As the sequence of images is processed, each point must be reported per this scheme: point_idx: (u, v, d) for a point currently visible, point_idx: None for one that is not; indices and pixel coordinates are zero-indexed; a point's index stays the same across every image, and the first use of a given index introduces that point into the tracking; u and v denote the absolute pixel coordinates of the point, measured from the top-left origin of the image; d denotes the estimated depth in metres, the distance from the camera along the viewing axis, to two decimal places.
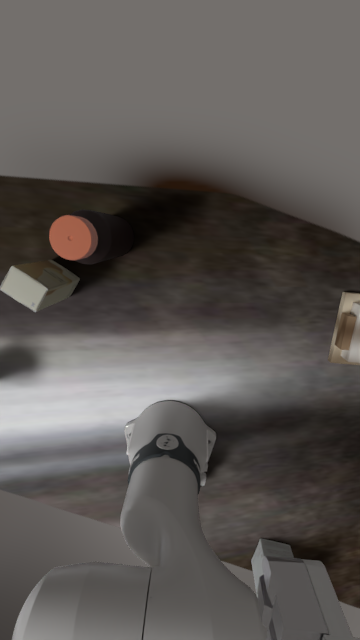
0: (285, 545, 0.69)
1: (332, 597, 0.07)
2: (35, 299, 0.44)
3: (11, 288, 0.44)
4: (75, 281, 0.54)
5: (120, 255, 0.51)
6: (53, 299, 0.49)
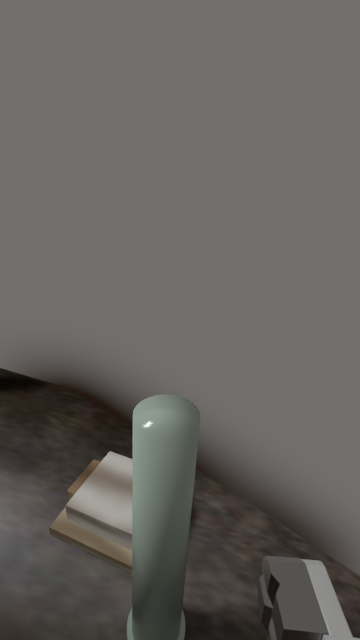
0: None
1: (332, 597, 0.07)
2: None
3: None
4: None
5: None
6: None
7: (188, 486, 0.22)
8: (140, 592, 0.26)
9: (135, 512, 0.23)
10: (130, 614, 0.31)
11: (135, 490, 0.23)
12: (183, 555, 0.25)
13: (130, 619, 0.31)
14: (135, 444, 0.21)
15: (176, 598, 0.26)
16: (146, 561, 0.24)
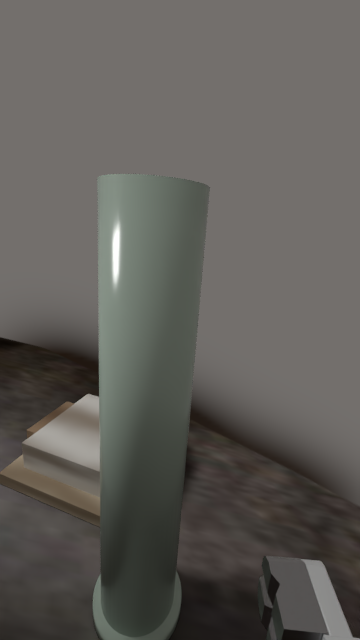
0: None
1: (332, 597, 0.07)
2: None
3: None
4: None
5: None
6: None
7: (189, 309, 0.13)
8: (110, 518, 0.16)
9: (102, 366, 0.14)
10: (100, 578, 0.21)
11: (101, 321, 0.14)
12: (179, 452, 0.16)
13: (99, 584, 0.21)
14: (100, 222, 0.13)
15: (168, 532, 0.17)
16: (118, 454, 0.15)
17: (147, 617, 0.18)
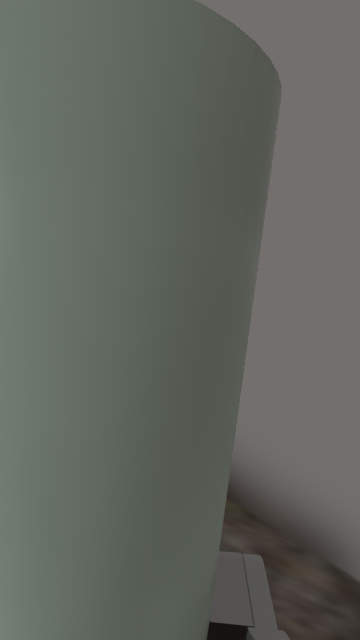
0: None
1: (263, 590, 0.07)
2: None
3: None
4: None
5: None
6: None
7: (210, 491, 0.04)
8: None
9: None
10: None
11: None
12: None
13: None
14: None
15: None
16: None
17: None
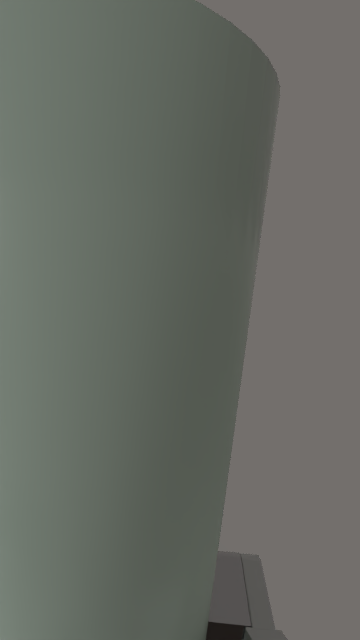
0: None
1: (261, 590, 0.07)
2: None
3: None
4: None
5: None
6: None
7: (209, 493, 0.04)
8: None
9: None
10: None
11: None
12: None
13: None
14: None
15: None
16: None
17: None
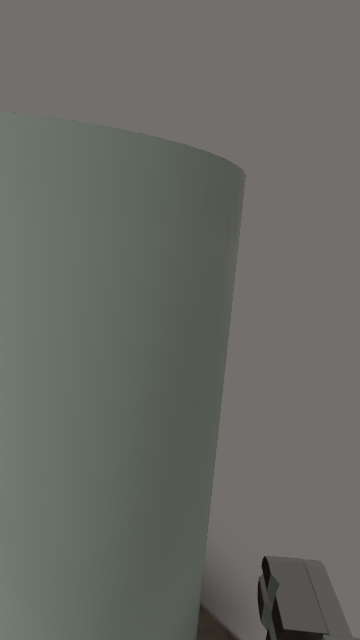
0: None
1: (331, 597, 0.07)
2: None
3: None
4: None
5: None
6: None
7: (186, 545, 0.04)
8: None
9: None
10: None
11: None
12: None
13: None
14: None
15: None
16: None
17: None
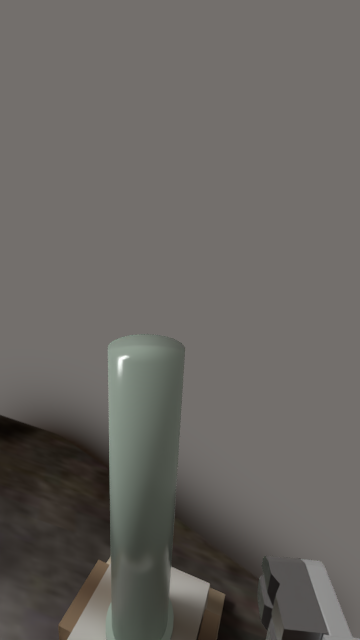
0: None
1: (332, 597, 0.07)
2: None
3: None
4: None
5: None
6: None
7: (172, 432, 0.19)
8: (119, 569, 0.22)
9: (111, 467, 0.20)
10: (110, 606, 0.27)
11: (111, 439, 0.20)
12: (168, 523, 0.22)
13: (110, 612, 0.27)
14: (110, 380, 0.19)
15: (161, 578, 0.23)
16: (124, 527, 0.21)
17: (147, 639, 0.24)
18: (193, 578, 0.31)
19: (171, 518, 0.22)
